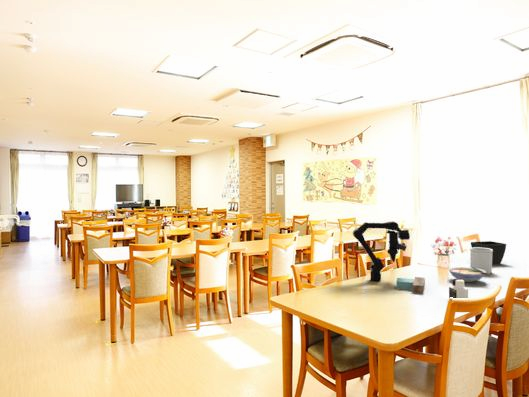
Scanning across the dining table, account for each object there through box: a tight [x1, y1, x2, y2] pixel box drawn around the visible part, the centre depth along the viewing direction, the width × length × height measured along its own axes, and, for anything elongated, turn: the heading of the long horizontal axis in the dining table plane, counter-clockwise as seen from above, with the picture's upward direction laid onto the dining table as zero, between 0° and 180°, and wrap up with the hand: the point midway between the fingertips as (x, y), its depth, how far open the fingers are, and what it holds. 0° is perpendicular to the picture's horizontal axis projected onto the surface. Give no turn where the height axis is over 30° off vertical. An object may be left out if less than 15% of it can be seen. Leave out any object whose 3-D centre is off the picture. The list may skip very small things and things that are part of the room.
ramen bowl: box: [448, 266, 488, 283], centre depth 251 cm, size 25×23×8 cm
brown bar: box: [412, 276, 426, 294], centre depth 235 cm, size 6×22×5 cm, turn 154°
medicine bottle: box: [448, 278, 469, 299], centre depth 209 cm, size 7×7×12 cm
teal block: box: [395, 277, 415, 291], centre depth 238 cm, size 10×10×5 cm
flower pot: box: [470, 240, 507, 265], centre depth 307 cm, size 19×19×17 cm
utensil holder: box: [469, 247, 493, 275], centre depth 275 cm, size 15×15×18 cm
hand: (393, 261), depth 256 cm, fingers closed
